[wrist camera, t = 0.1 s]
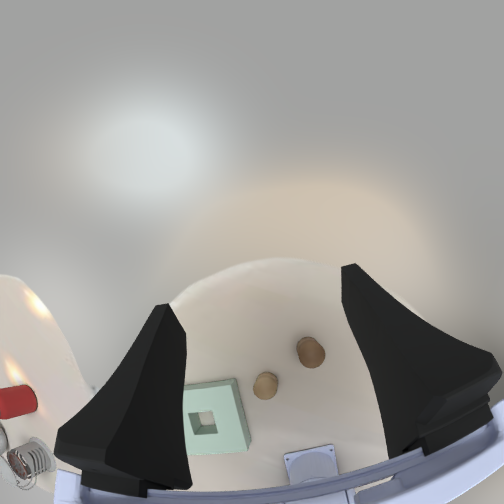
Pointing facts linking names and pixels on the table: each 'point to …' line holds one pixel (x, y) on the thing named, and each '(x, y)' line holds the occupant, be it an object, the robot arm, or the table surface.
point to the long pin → (310, 352)
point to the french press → (34, 456)
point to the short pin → (265, 386)
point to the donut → (2, 442)
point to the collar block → (225, 415)
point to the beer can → (16, 401)
